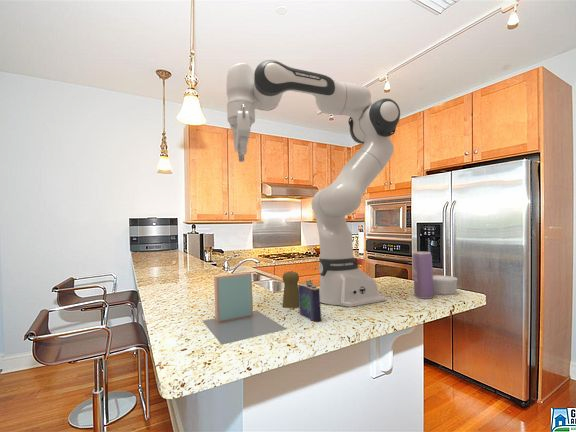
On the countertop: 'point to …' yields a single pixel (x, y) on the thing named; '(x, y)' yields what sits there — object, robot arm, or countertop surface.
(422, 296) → the beverage can
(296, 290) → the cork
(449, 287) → the ramekin
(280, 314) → the countertop surface
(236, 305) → the tile
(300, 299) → the flask
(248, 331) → the slate board
